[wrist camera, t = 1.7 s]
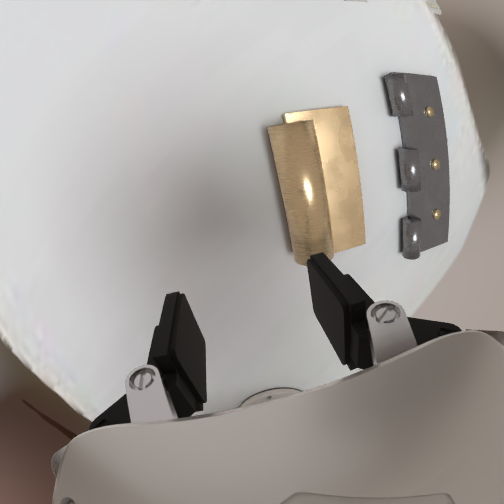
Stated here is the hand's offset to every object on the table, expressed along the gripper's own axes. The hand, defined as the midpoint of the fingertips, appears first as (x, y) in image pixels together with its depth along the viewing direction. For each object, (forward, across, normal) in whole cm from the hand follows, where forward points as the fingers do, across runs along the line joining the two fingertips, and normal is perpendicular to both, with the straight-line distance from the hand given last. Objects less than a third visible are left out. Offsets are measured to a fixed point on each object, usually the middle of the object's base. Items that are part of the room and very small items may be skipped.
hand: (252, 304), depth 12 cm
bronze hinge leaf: (+18, -10, 0) cm, 20 cm away
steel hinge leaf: (+17, -26, 0) cm, 31 cm away
